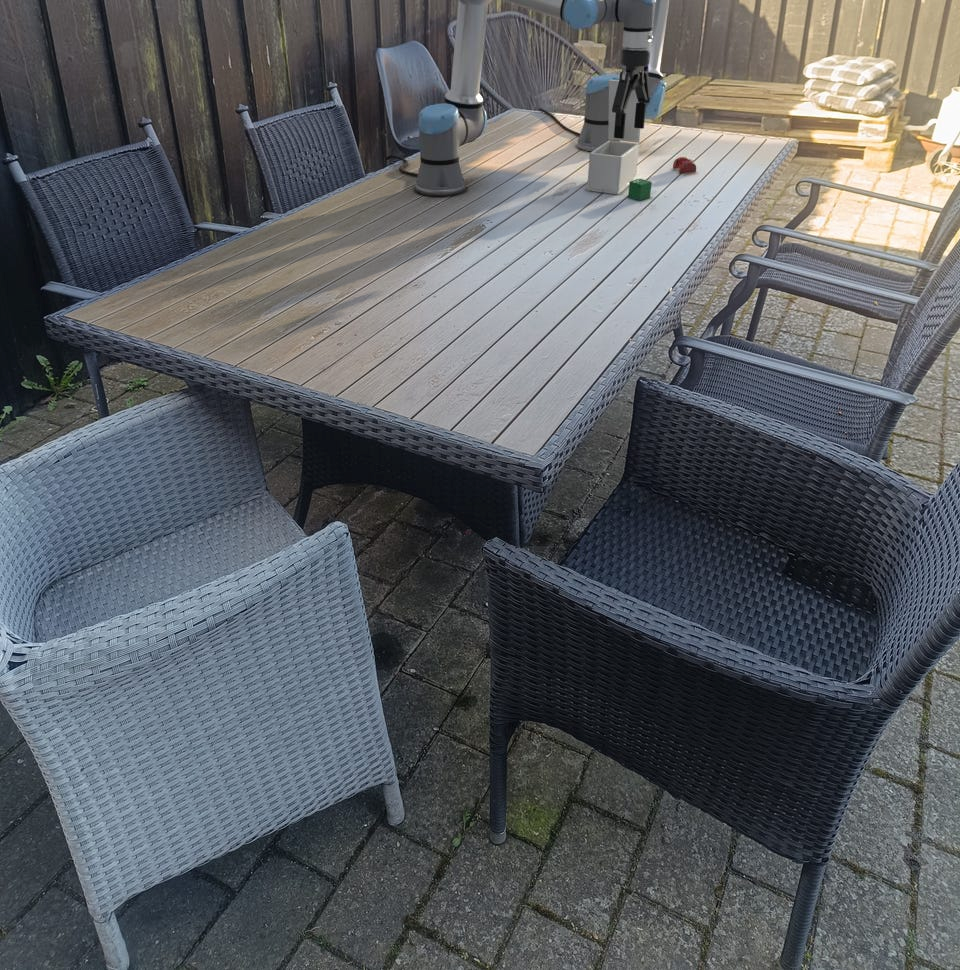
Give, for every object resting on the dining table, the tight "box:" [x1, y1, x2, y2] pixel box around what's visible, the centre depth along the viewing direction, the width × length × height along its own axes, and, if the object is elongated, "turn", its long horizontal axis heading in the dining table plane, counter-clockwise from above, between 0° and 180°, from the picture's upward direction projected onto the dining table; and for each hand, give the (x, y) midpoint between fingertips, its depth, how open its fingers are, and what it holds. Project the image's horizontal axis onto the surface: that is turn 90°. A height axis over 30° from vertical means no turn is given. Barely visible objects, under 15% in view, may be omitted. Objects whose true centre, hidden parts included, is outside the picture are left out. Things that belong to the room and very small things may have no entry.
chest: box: [586, 140, 640, 195], centre depth 259 cm, size 17×10×11 cm, turn 154°
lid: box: [608, 79, 642, 144], centre depth 258 cm, size 18×10×9 cm
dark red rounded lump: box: [672, 156, 697, 174], centre depth 274 cm, size 6×4×8 cm
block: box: [627, 178, 653, 201], centre depth 251 cm, size 5×5×5 cm
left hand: (629, 133), depth 236 cm, fingers open, 13 cm apart
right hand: (631, 95), depth 258 cm, fingers closed on lid, 2 cm apart
